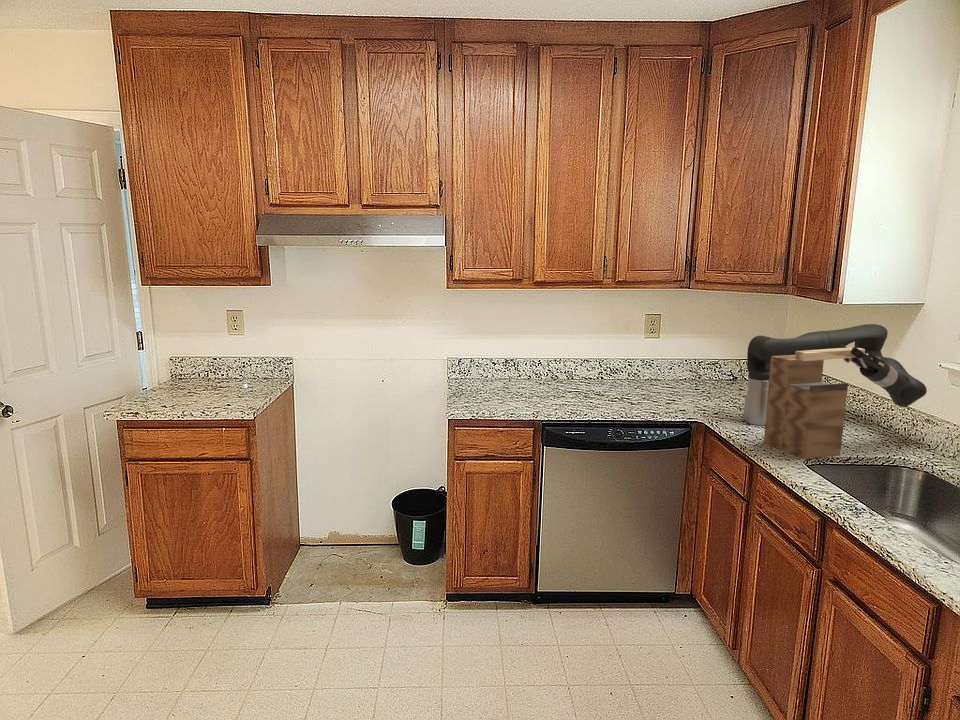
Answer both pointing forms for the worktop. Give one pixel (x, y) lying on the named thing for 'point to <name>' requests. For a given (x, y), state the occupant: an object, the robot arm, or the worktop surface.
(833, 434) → the stepped shelf
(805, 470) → the worktop surface
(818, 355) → the birch plank
